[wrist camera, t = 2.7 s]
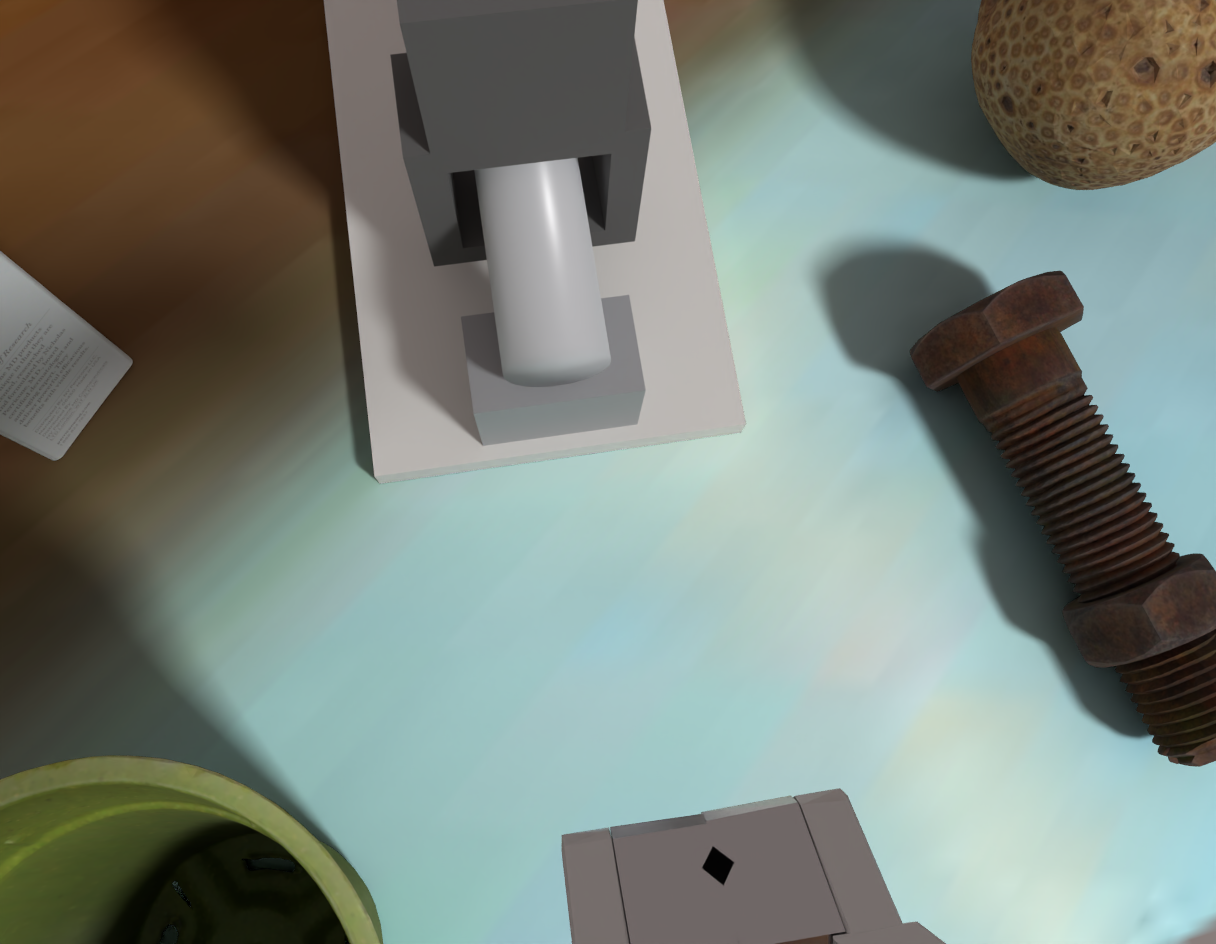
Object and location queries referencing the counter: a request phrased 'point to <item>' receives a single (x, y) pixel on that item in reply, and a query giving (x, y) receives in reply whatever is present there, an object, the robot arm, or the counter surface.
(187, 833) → the plant pot
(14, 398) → the skincare box
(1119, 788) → the counter surface
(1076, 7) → the natural sponge
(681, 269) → the pipe stand
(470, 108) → the collar
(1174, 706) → the bolt
